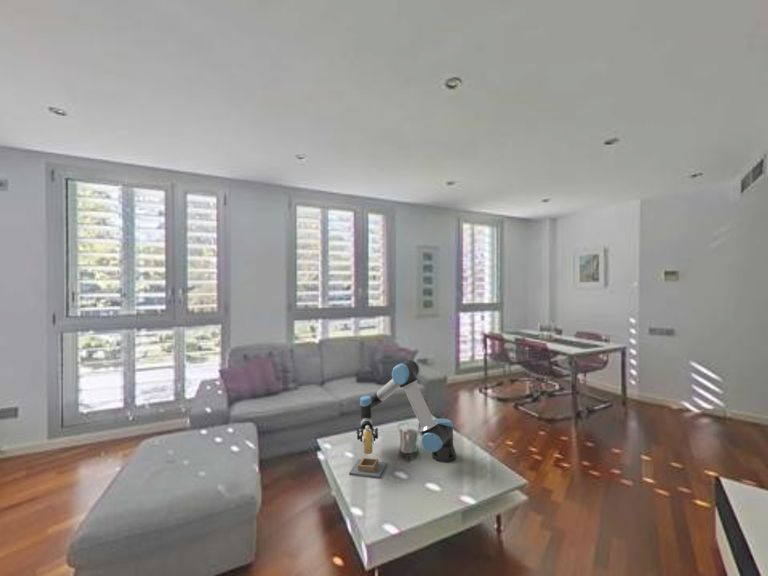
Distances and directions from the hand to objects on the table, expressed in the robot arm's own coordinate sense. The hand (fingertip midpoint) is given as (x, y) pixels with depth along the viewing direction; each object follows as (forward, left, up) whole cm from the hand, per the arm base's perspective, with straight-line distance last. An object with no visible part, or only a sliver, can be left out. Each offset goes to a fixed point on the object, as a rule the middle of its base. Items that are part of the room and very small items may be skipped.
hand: (368, 442), depth 209 cm
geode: (-28, -58, -19) cm, 67 cm away
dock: (+2, -5, -18) cm, 19 cm away
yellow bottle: (+2, -5, -8) cm, 10 cm away
